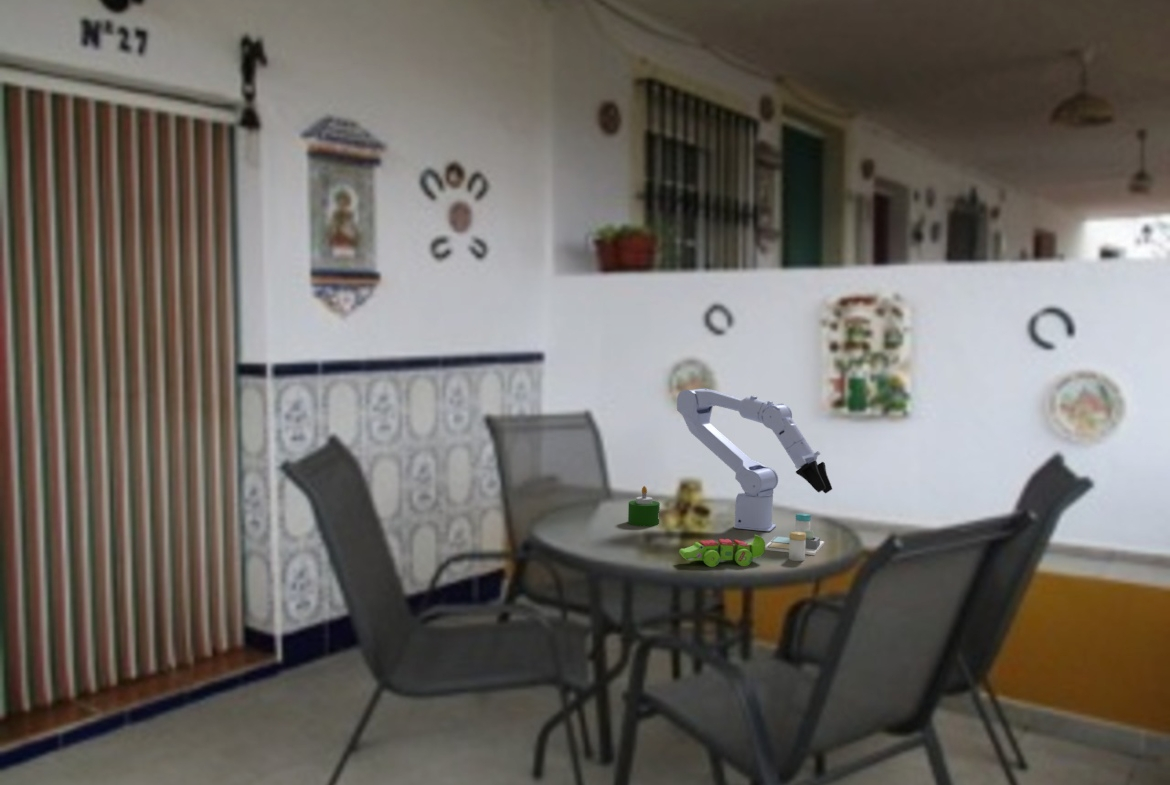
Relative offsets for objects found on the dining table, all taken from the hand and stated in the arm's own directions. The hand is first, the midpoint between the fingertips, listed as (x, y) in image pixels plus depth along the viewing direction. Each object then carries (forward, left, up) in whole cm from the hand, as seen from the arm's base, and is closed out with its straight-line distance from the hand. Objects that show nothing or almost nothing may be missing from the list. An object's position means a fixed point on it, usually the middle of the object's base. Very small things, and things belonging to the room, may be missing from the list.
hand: (825, 490), depth 249 cm
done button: (-1, -13, -10) cm, 16 cm away
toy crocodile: (-16, -35, -13) cm, 40 cm away
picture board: (-5, -12, -12) cm, 18 cm away
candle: (-47, -3, -13) cm, 49 cm away
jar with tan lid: (-2, -24, -12) cm, 27 cm away
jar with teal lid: (-5, -2, -12) cm, 13 cm away
